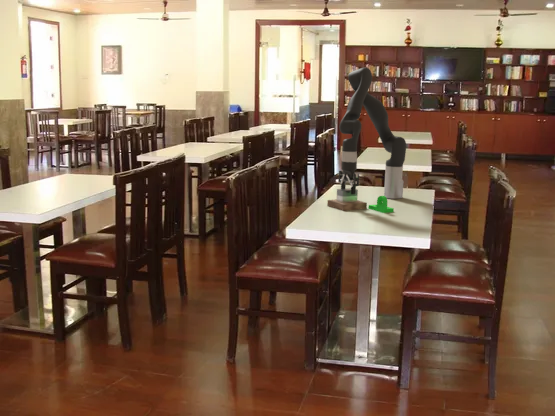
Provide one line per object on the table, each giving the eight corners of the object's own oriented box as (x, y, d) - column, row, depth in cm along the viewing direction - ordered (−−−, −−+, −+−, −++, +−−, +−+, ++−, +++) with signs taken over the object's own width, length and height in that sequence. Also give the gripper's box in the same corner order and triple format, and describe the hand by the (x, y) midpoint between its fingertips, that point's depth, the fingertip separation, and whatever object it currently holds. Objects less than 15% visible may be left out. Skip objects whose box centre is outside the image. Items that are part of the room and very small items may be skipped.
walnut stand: (350, 204, 323) (350, 198, 322) (366, 208, 311) (366, 202, 310) (327, 205, 316) (327, 200, 316) (343, 210, 304) (343, 204, 304)
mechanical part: (393, 212, 304) (394, 196, 303) (383, 213, 301) (384, 196, 300) (378, 208, 315) (379, 192, 313) (368, 209, 312) (369, 193, 310)
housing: (336, 201, 313) (337, 189, 312) (351, 199, 318) (351, 188, 317) (342, 202, 309) (342, 190, 308) (357, 201, 313) (357, 189, 312)
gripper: (334, 159, 314) (333, 191, 317) (351, 162, 301) (350, 195, 304) (347, 158, 317) (346, 190, 320) (364, 161, 305) (362, 194, 308)
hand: (348, 193), depth 312 cm, fingers open, 8 cm apart
